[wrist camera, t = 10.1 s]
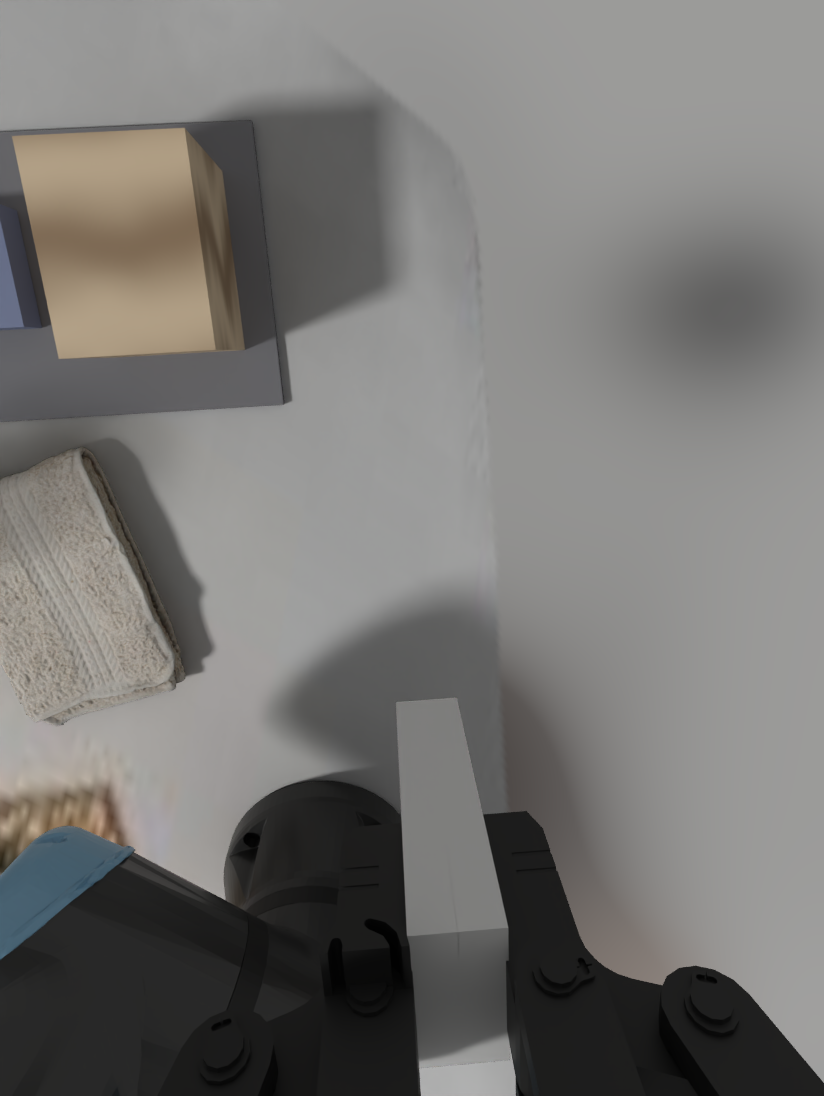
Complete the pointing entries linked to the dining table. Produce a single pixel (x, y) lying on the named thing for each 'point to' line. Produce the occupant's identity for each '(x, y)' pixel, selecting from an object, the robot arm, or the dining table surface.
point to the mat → (157, 380)
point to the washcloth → (77, 596)
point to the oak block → (131, 243)
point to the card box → (15, 277)
